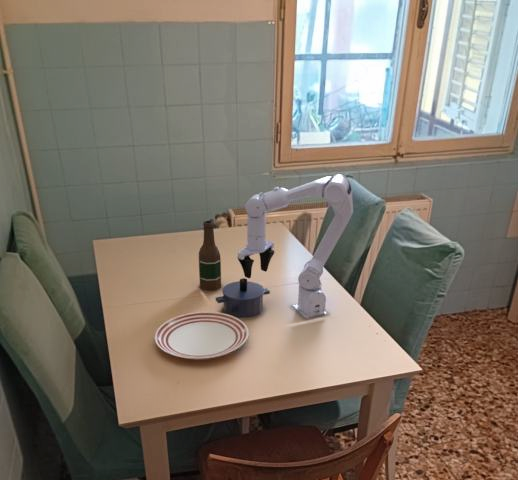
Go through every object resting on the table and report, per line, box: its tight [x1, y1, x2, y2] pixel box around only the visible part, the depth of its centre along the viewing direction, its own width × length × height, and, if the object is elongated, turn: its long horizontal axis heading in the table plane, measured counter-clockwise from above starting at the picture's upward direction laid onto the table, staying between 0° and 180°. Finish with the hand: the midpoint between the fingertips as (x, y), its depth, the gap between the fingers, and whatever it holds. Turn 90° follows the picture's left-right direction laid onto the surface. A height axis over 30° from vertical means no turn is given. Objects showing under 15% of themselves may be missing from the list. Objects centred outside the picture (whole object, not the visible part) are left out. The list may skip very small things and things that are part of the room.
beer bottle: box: [198, 220, 222, 292], centre depth 193 cm, size 8×8×24 cm
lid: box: [221, 277, 265, 301], centre depth 182 cm, size 14×14×5 cm
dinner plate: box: [154, 311, 250, 360], centre depth 167 cm, size 27×27×3 cm
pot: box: [215, 287, 271, 319], centre depth 184 cm, size 13×18×6 cm
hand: (255, 273), depth 185 cm, fingers open, 7 cm apart
